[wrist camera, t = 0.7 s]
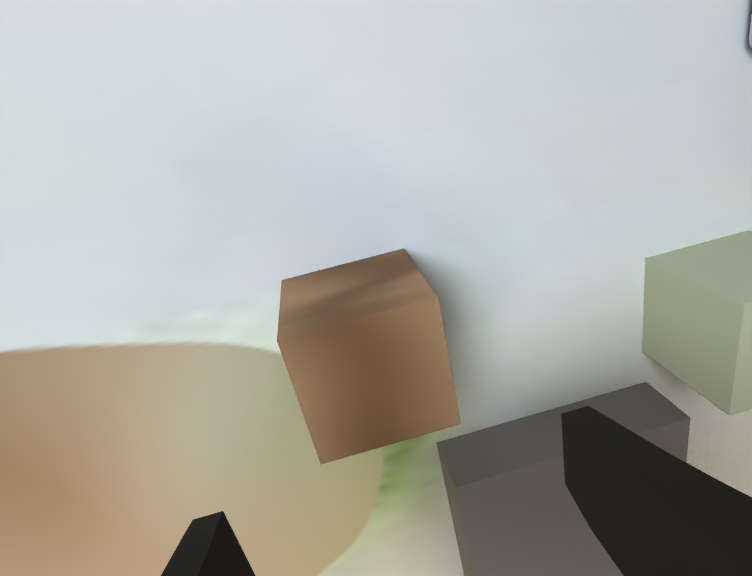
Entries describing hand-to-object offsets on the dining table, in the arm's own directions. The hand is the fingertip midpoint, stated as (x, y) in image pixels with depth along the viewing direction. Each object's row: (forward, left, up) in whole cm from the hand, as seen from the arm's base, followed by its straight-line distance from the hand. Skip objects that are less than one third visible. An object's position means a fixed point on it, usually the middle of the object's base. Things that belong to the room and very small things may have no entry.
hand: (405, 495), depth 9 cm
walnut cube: (0, 0, -8) cm, 8 cm away
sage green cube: (-14, +3, -8) cm, 17 cm away
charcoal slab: (-7, +12, -9) cm, 16 cm away
